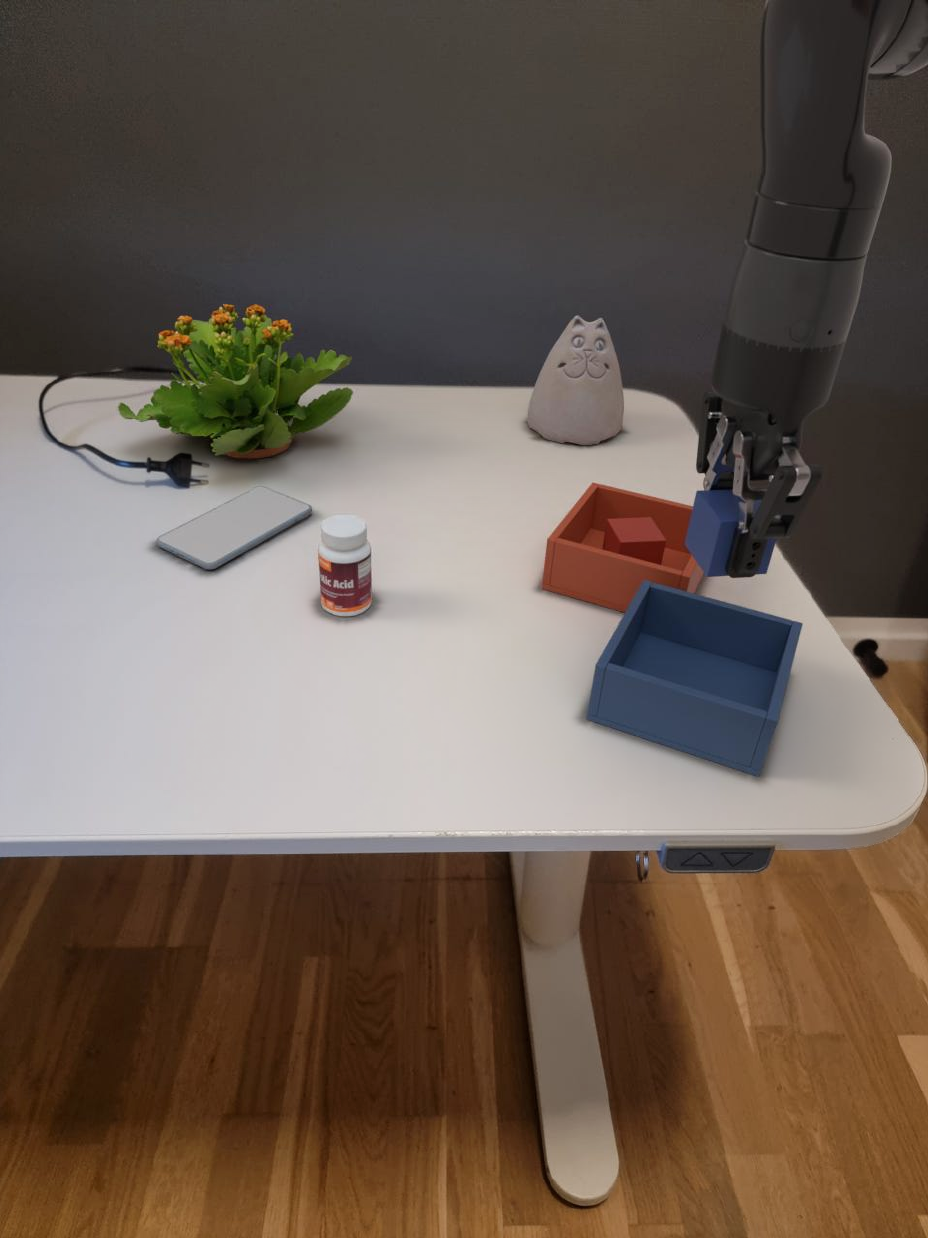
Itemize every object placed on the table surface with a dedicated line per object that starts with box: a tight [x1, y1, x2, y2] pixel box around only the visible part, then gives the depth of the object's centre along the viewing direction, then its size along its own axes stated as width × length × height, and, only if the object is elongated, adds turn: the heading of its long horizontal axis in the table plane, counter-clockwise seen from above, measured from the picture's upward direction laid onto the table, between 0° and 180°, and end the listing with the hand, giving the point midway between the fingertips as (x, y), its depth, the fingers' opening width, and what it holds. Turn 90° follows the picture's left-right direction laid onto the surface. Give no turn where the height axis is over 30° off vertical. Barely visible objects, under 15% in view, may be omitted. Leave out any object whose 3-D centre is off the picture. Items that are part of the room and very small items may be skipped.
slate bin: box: [586, 580, 803, 777], centre depth 70 cm, size 14×14×6 cm
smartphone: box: [156, 485, 313, 570], centre depth 90 cm, size 8×1×15 cm
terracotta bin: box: [541, 482, 705, 613], centre depth 85 cm, size 14×14×6 cm
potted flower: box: [117, 303, 354, 460], centre depth 103 cm, size 25×24×18 cm
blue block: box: [685, 489, 781, 578], centre depth 63 cm, size 5×5×5 cm
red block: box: [602, 517, 666, 565], centre depth 85 cm, size 5×5×5 cm
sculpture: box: [527, 315, 625, 446], centre depth 112 cm, size 13×12×15 cm
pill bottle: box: [317, 513, 373, 617], centre depth 78 cm, size 5×5×8 cm
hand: (725, 554), depth 64 cm, fingers closed on blue block, 4 cm apart
